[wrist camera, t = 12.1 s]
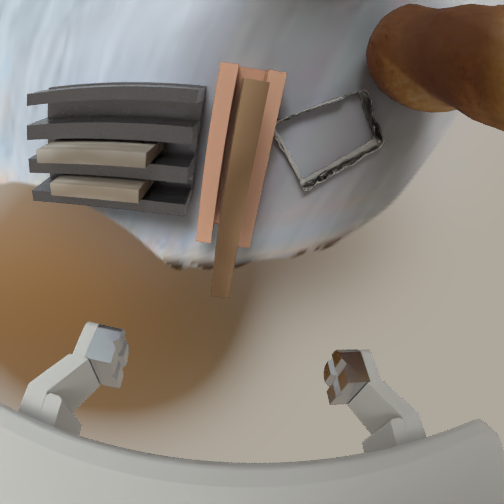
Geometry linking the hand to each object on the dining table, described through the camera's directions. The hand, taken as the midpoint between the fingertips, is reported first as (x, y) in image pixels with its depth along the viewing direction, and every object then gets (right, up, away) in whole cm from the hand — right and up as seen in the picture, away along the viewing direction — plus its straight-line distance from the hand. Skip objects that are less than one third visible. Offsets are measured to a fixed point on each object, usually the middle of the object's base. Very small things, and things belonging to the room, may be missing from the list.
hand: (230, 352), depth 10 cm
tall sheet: (-1, +16, +23) cm, 29 cm away
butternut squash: (+20, +29, +17) cm, 40 cm away
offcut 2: (-18, +14, +24) cm, 33 cm away
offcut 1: (-17, +18, +21) cm, 33 cm away
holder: (-1, +17, +25) cm, 30 cm away
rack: (-17, +19, +23) cm, 34 cm away
